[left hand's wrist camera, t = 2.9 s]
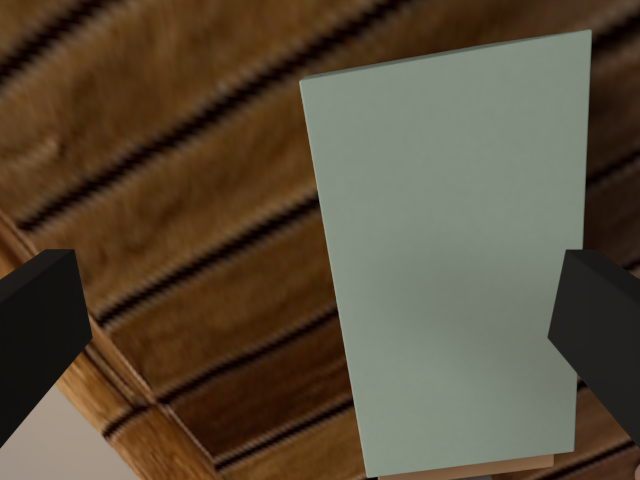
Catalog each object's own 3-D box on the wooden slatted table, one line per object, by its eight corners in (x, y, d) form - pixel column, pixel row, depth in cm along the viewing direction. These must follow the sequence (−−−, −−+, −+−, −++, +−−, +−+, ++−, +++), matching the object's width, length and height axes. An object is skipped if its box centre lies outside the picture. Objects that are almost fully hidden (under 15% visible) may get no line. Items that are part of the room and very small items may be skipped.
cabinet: (497, 337, 36) (574, 451, 25) (352, 357, 36) (367, 478, 26) (488, 43, 28) (593, 28, 18) (305, 76, 29) (298, 80, 18)
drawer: (497, 423, 38) (552, 533, 29) (372, 440, 38) (389, 552, 29) (486, 102, 29) (562, 117, 20) (323, 130, 29) (326, 156, 20)
